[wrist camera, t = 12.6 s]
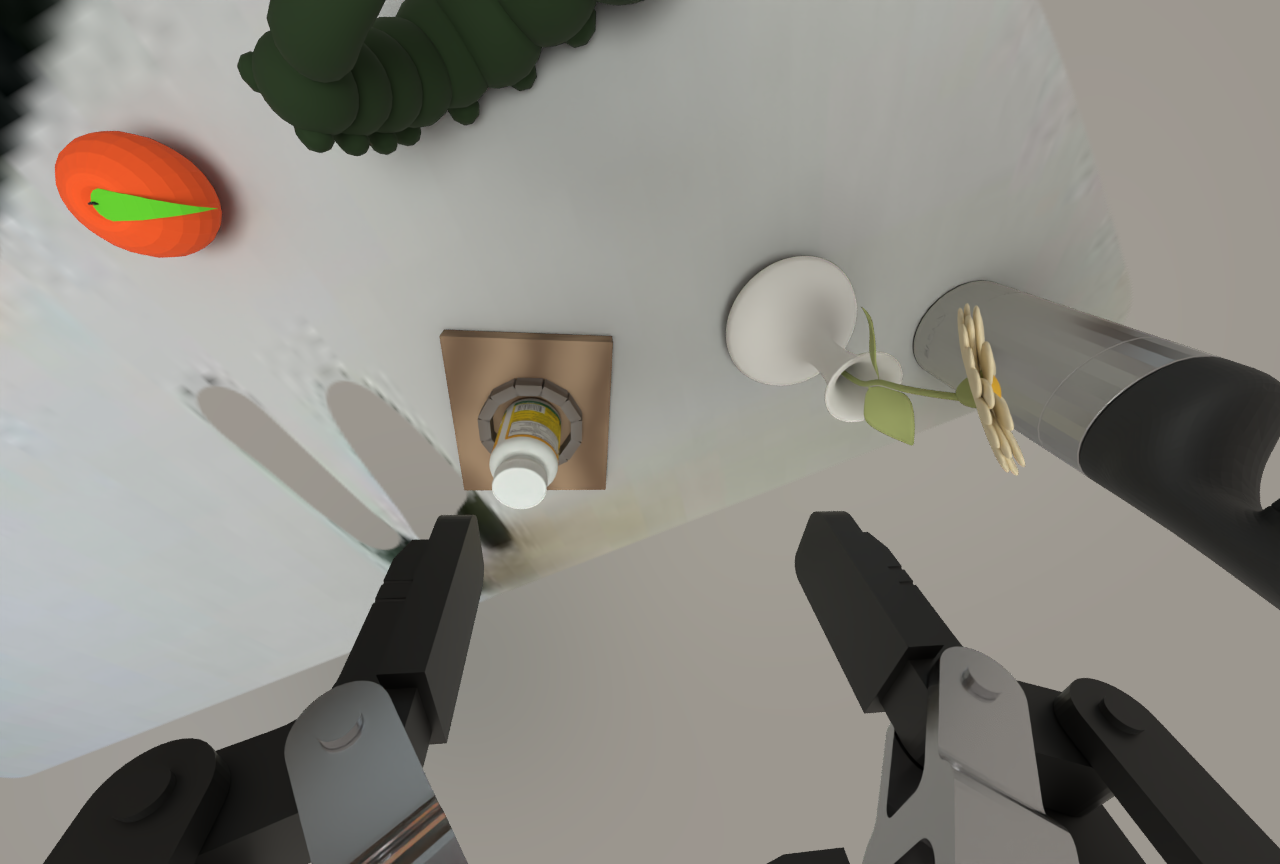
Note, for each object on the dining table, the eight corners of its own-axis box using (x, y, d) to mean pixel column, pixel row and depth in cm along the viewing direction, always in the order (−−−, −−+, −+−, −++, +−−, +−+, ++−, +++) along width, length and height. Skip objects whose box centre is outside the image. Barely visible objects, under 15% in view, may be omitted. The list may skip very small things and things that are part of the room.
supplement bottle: (535, 385, 40) (522, 447, 31) (573, 426, 42) (571, 492, 34) (489, 418, 41) (466, 485, 33) (529, 455, 43) (517, 526, 35)
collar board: (611, 336, 39) (613, 349, 37) (604, 480, 48) (606, 499, 45) (444, 329, 38) (434, 343, 35) (467, 480, 46) (461, 500, 44)
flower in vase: (846, 358, 43) (1094, 560, 22) (730, 390, 44) (865, 616, 23) (846, 213, 36) (1212, 306, 15) (708, 253, 37) (876, 397, 16)
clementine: (243, 141, 30) (157, 140, 24) (276, 252, 33) (209, 275, 27) (102, 125, 29) (-26, 119, 23) (152, 241, 32) (53, 264, 26)
